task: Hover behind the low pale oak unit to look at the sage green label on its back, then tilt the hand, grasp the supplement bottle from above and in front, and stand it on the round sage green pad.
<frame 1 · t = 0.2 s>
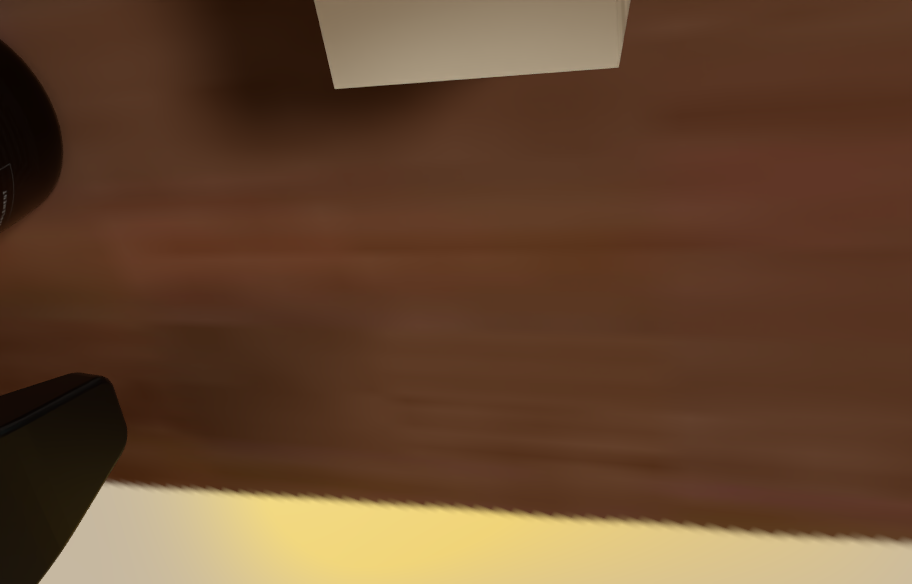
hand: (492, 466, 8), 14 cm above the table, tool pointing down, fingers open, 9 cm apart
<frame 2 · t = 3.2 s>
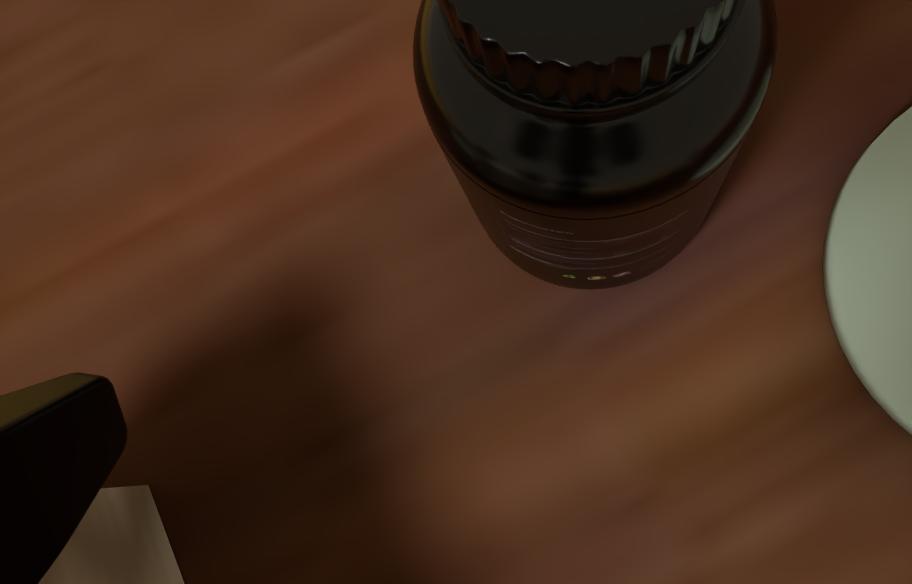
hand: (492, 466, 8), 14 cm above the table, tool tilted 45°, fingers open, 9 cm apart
supplement bottle: (588, 183, 23), on the table
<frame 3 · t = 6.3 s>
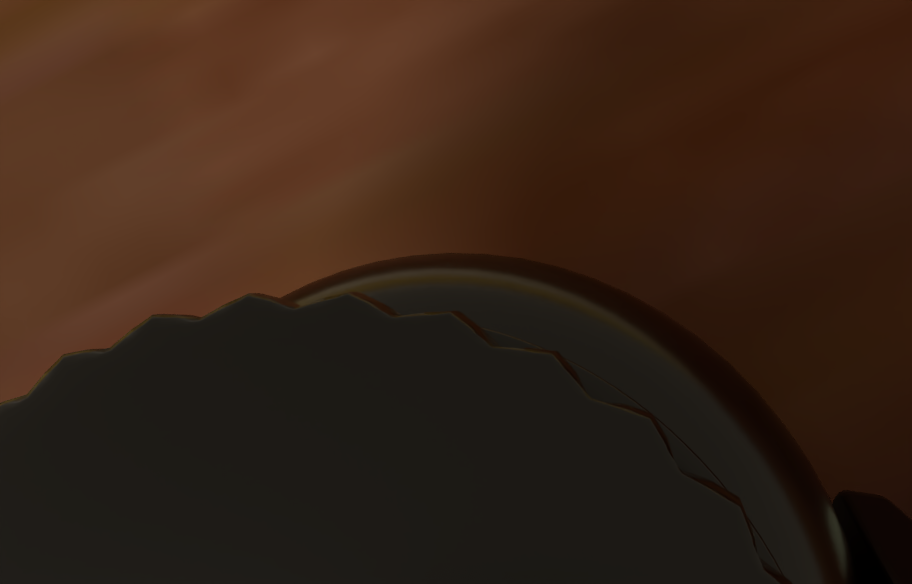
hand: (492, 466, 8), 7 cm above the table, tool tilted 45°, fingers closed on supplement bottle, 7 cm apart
supplement bottle: (524, 535, 15), on the table, touching gripper
when the fingers open (13 cm above the table, at t = 8.7 s): supplement bottle drops 3 cm, resting on green pad.
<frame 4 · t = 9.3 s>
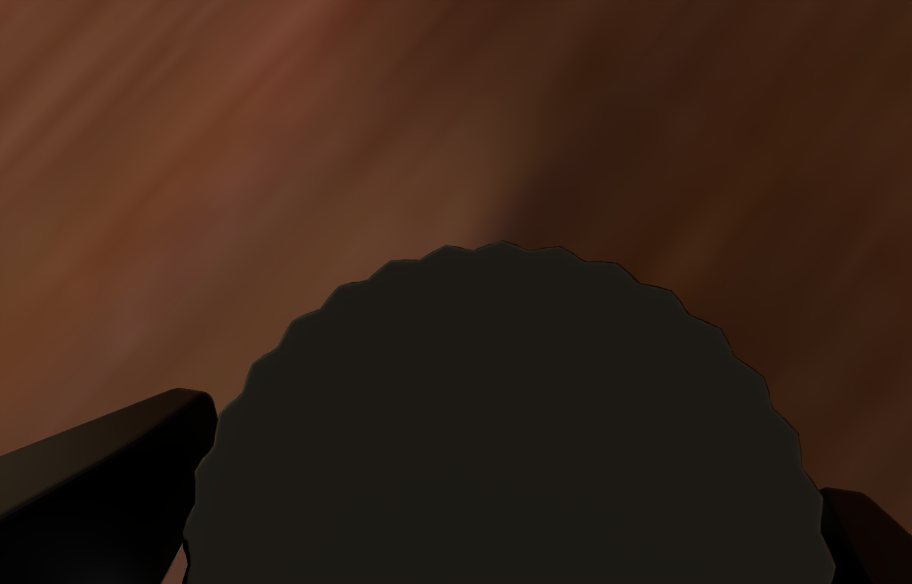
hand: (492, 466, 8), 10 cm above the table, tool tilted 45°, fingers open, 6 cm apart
supplement bottle: (525, 531, 17), point 1 cm above the table, touching green pad, gripper
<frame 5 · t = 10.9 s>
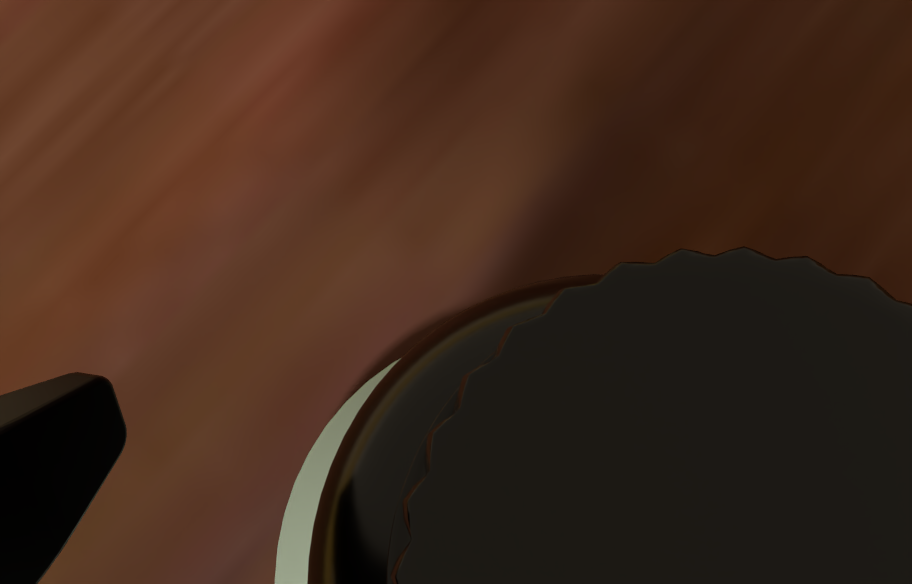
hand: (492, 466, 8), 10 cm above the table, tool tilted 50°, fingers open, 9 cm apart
green pad: (522, 572, 18), on the table
supplement bottle: (520, 561, 17), point 1 cm above the table, touching green pad, gripper
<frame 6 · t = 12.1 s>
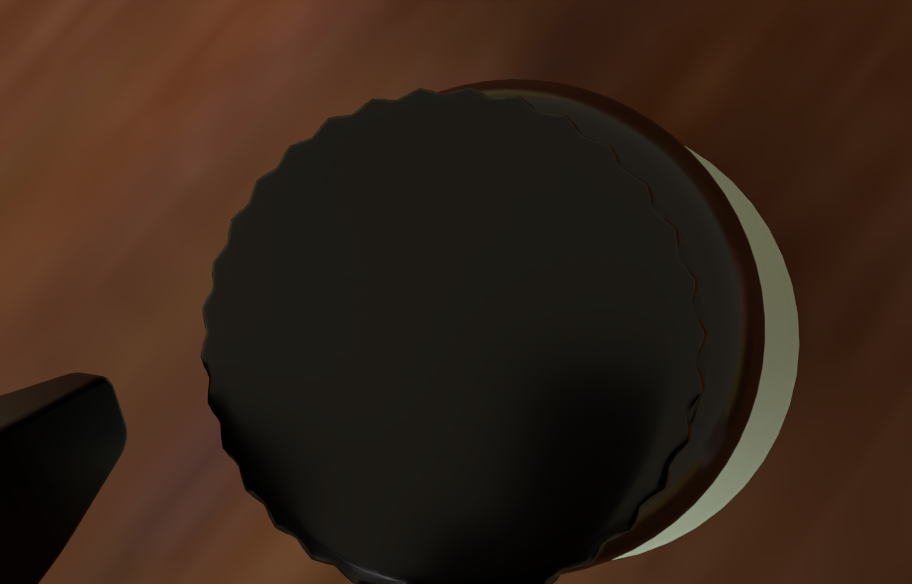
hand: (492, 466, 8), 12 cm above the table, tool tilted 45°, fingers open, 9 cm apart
green pad: (562, 332, 20), on the table
supplement bottle: (560, 315, 19), point 1 cm above the table, touching green pad
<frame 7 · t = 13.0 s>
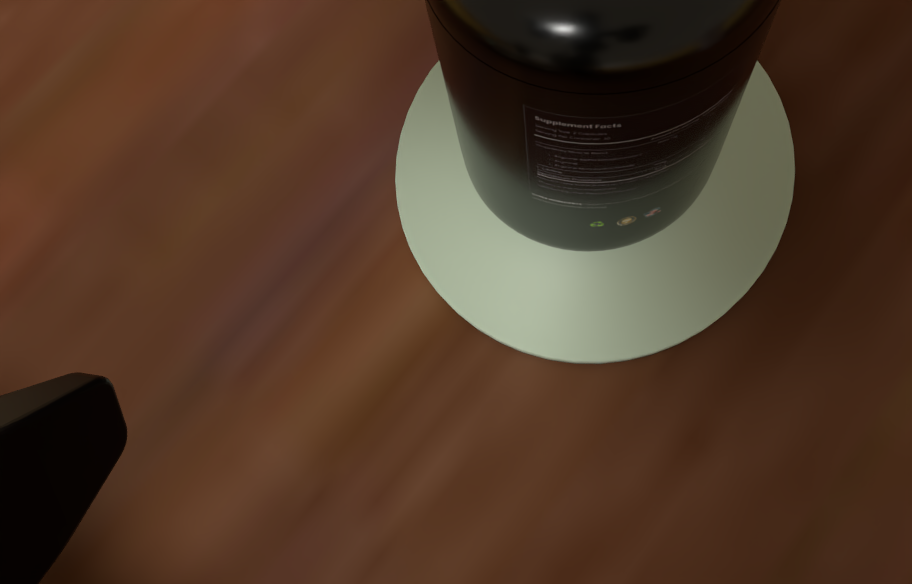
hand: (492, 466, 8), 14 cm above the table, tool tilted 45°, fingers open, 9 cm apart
green pad: (587, 174, 23), on the table
supplement bottle: (585, 150, 22), point 1 cm above the table, touching green pad
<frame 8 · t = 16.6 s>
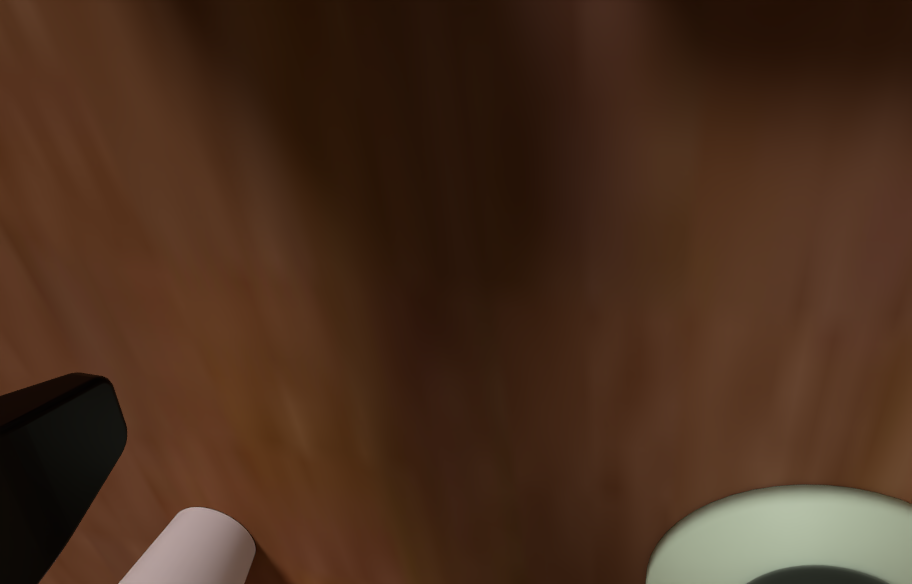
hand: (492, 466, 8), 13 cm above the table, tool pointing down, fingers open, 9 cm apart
smoothie: (216, 533, 34), on the table
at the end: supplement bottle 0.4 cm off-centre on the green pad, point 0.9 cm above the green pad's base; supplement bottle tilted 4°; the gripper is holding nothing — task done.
